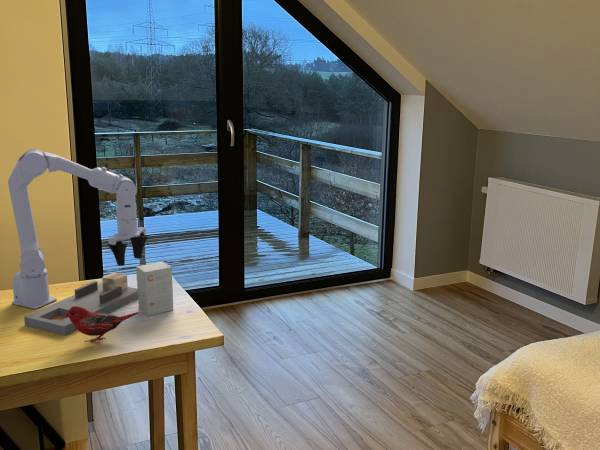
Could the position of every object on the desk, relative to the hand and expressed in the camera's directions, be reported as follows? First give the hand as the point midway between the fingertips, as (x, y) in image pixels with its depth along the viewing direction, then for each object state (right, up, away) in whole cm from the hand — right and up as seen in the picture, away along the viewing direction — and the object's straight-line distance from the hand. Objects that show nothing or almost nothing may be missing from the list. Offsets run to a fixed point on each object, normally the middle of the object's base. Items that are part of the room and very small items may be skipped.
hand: (129, 261), depth 178 cm
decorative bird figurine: (+3, -18, -31) cm, 36 cm away
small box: (+11, -13, -11) cm, 21 cm away
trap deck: (-8, -13, -13) cm, 20 cm away
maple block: (-3, -8, -3) cm, 9 cm away
